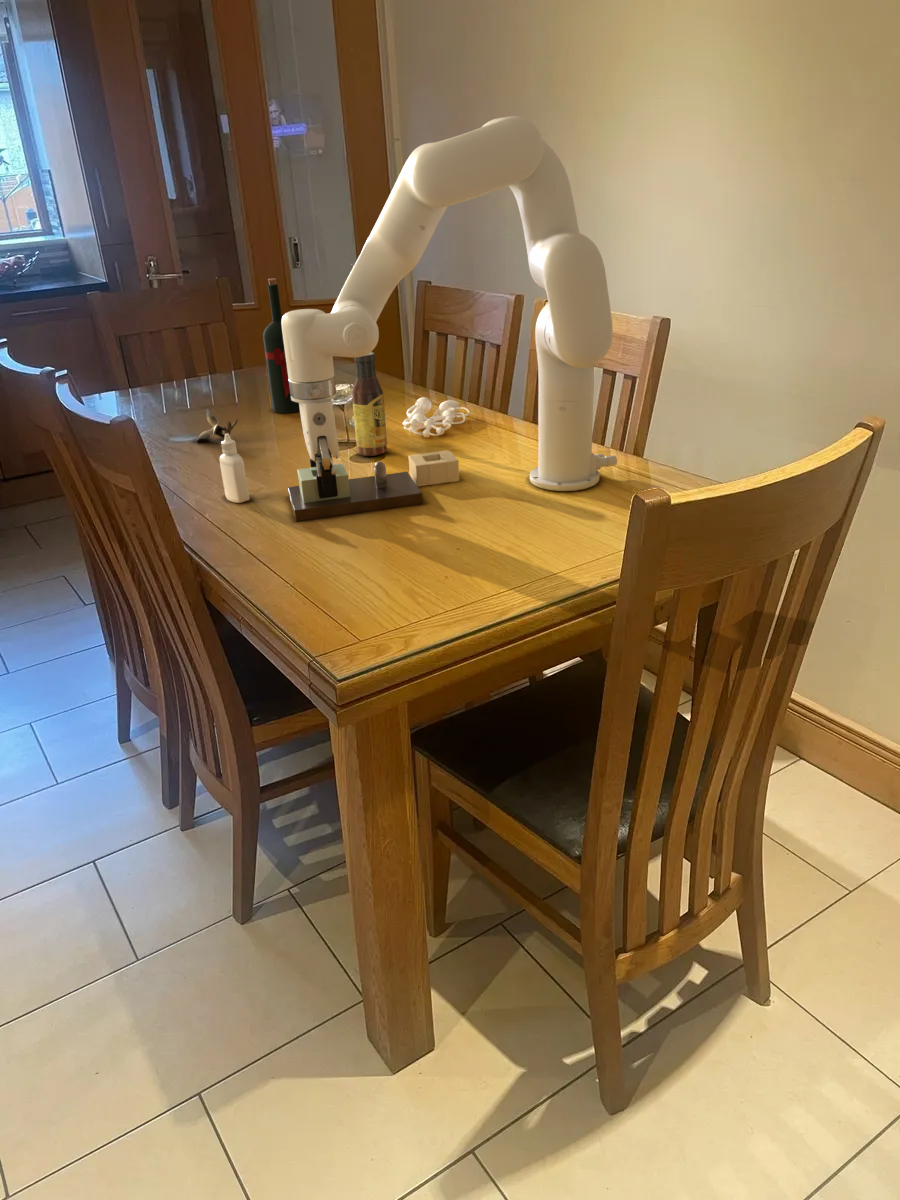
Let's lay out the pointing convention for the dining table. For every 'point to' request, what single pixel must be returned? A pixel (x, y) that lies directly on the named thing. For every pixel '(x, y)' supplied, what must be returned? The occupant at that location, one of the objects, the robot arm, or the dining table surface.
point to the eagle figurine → (215, 427)
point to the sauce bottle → (368, 408)
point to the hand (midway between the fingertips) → (324, 487)
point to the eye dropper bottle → (233, 472)
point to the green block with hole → (311, 489)
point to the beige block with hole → (433, 468)
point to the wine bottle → (277, 357)
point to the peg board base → (361, 496)
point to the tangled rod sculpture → (422, 422)
